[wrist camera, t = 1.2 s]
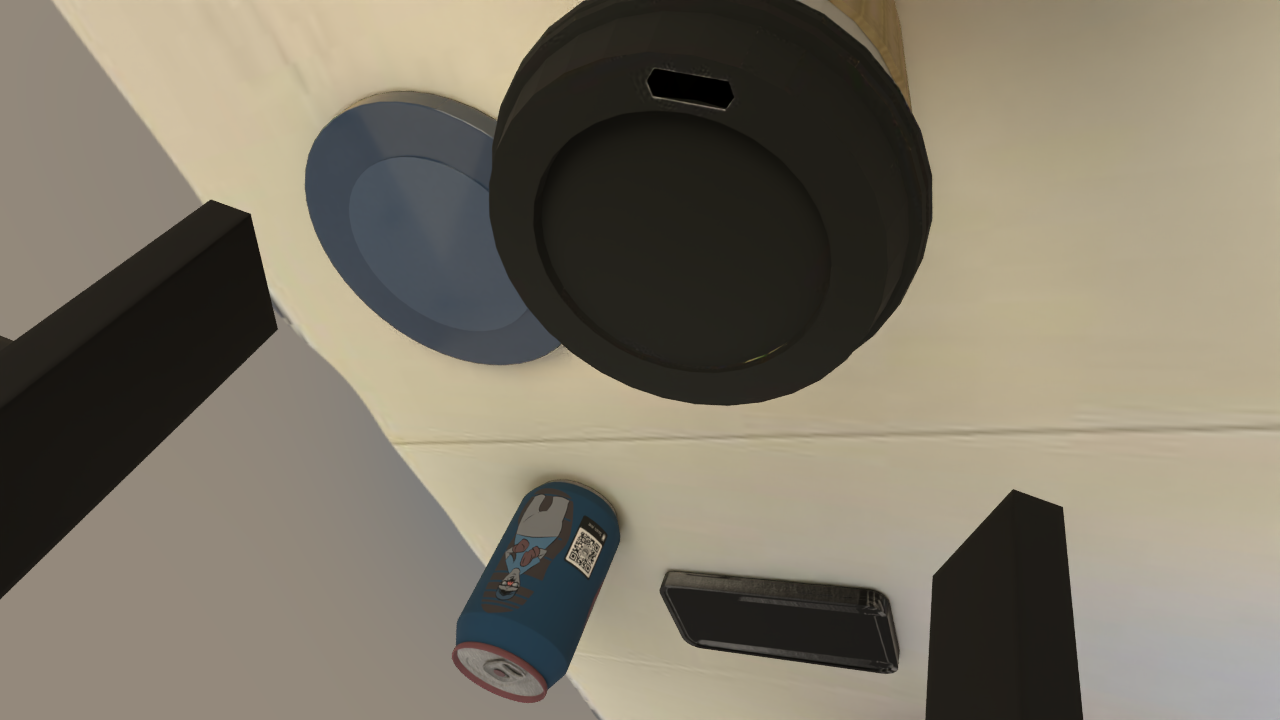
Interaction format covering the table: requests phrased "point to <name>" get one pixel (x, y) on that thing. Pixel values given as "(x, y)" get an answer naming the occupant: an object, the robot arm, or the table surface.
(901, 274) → the coffee cup
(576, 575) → the soda can
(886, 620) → the phone
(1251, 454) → the table surface
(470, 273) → the plate
